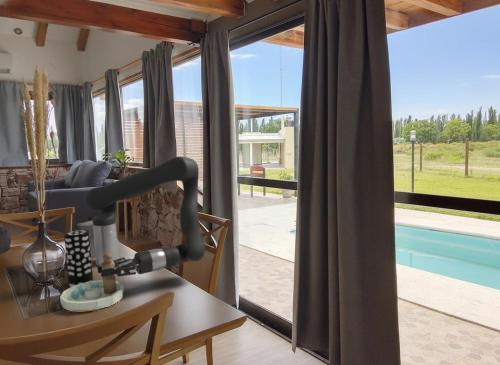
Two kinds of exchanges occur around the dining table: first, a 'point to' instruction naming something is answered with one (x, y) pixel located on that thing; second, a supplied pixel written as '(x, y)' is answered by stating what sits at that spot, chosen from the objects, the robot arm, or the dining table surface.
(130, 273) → the robot arm
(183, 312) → the dining table surface
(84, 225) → the coffeepot
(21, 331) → the dining table surface
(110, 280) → the pepper mill
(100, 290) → the tray
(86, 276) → the white-spotted black cylinder
